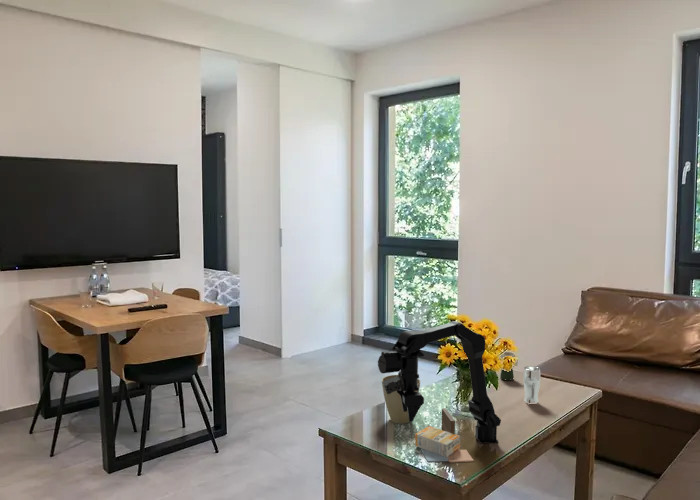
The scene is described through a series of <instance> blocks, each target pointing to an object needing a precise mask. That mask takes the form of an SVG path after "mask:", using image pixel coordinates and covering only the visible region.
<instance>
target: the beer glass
mask: <svg viewBox="0 0 700 500" xmlns="http://www.w3.org/2000/svg"><path fill="white" fill-rule="evenodd" d="M522 381H523V389H524V399H523V402H524V401H525V402H527V403H537V402H538V401H539V390H540V387H541V386H540V385H541V369H540V368H539V367H537V366H532V365H530V366H529V365H528V366H524V367H523V374H522Z"/></svg>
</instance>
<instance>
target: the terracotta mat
mask: <svg viewBox="0 0 700 500" xmlns="http://www.w3.org/2000/svg"><path fill="white" fill-rule="evenodd" d="M453 454H454V456H455V457H454V456H453ZM453 454H451V456H450V457H449V456H448V457H447V458H448V459H449V461H448V462H449V463H465V462H466V463H467V462H469V463H470V462H474V459H473V457H472V456H471V455H470V453H469V452H468V450H467V449H458V450H457V451H456V452H454V453H453ZM453 457H454V458H453Z"/></svg>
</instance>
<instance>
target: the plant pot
mask: <svg viewBox="0 0 700 500" xmlns="http://www.w3.org/2000/svg"><path fill="white" fill-rule="evenodd" d="M397 376H398V374H391V375H390V374H389V375H387V376H386V375H385V376H384V377H382V378H381V385H382V392H383V397H384V402H385V405H386V409H387V412H388V415H389V416H388V417H389V418H390V420H391V422H392V423H395V424H397V425H398V424H399V425H400V424H401V425H402V424H404V425H405V424H408V423H410V422H409V418H408V410H407V412H404V411H403V406H402V401H401V397H400V395H399V394H398V392H397V391H394V392H392V393H391V394H387V393H386V391H385V388H384V385H383V381H385V380H388V379H390V378H393V377H397ZM417 386H418V387H419V388H420V387H421V380H420V378H418V382H417ZM415 392H420V390H419V391H415Z"/></svg>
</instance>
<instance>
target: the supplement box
mask: <svg viewBox="0 0 700 500" xmlns="http://www.w3.org/2000/svg"><path fill="white" fill-rule="evenodd" d="M414 438H415V439H414V440H415V447H417V448H419V449H421V448H422V449H425V450H428V451H431V452H433V453H436V454H439V455H442V456H444V457H448V456H450V455H451V454H453V453H454V452H456V451H457V450H461V435H458V434H456V433H455V434H452V433H449V432H446V431H443V430H442V429H439V428H436V427H434V426H430V425H428V426H426V427H425V428H424V429H422V430H420V431H418V432H416V433H414Z"/></svg>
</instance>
